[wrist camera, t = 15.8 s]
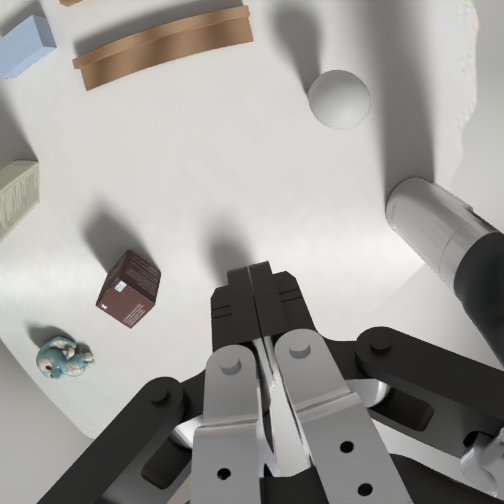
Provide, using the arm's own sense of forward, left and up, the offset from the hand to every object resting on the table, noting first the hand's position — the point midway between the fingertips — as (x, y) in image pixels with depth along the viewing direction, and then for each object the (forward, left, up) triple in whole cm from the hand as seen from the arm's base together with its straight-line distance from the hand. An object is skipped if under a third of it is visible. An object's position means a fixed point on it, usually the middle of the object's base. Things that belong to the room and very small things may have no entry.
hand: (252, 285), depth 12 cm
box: (+17, +15, -29) cm, 37 cm away
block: (+20, -20, -29) cm, 41 cm away
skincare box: (+27, -3, -29) cm, 40 cm away
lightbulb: (-12, -3, -29) cm, 32 cm away
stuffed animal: (+38, +28, -29) cm, 55 cm away
